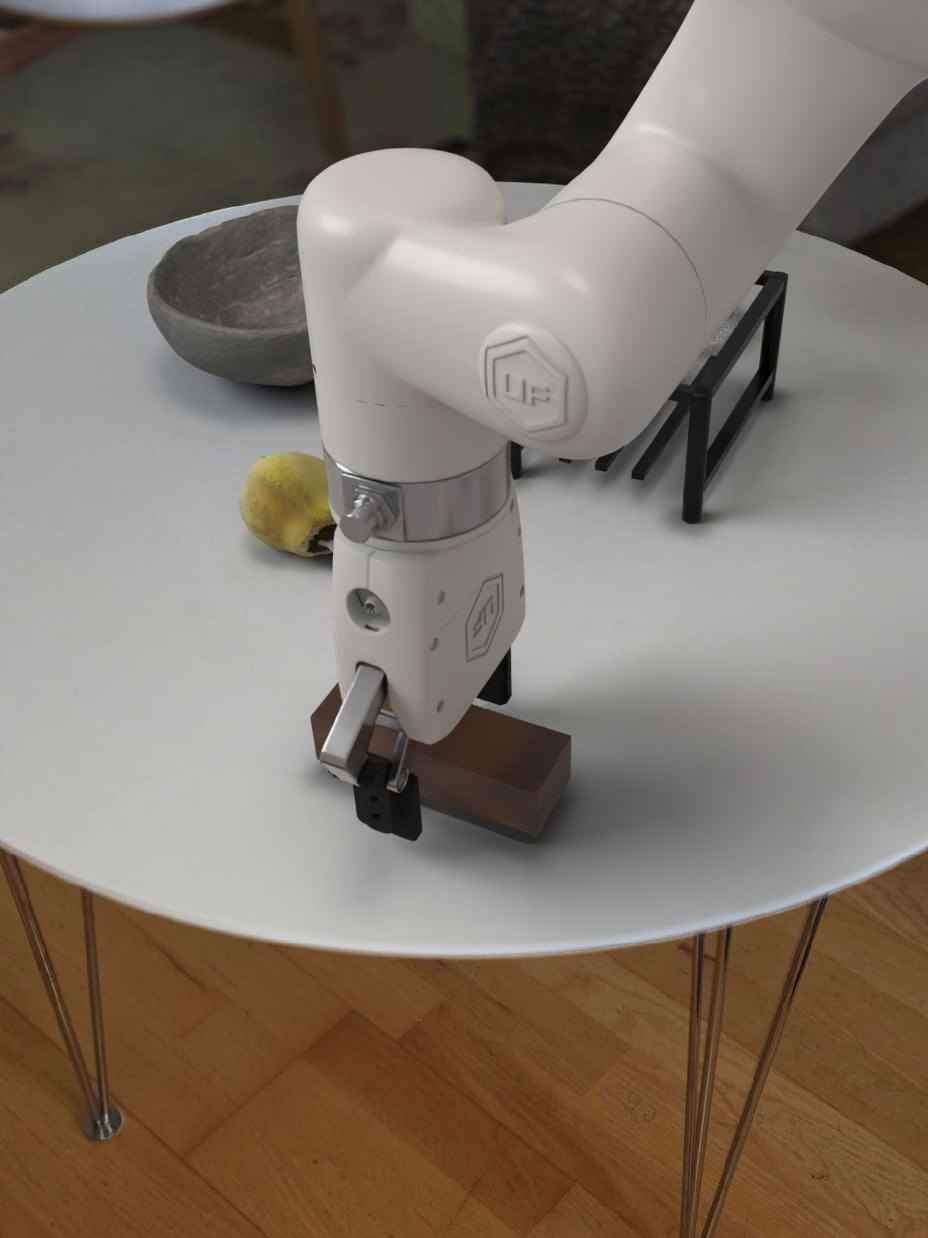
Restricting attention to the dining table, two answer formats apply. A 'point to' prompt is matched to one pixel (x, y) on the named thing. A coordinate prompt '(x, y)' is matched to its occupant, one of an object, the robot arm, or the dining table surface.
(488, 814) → the brown wooden block
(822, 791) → the dining table surface
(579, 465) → the dining table surface
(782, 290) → the rack
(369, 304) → the robot arm
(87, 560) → the dining table surface
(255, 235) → the bowl
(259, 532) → the fruit
